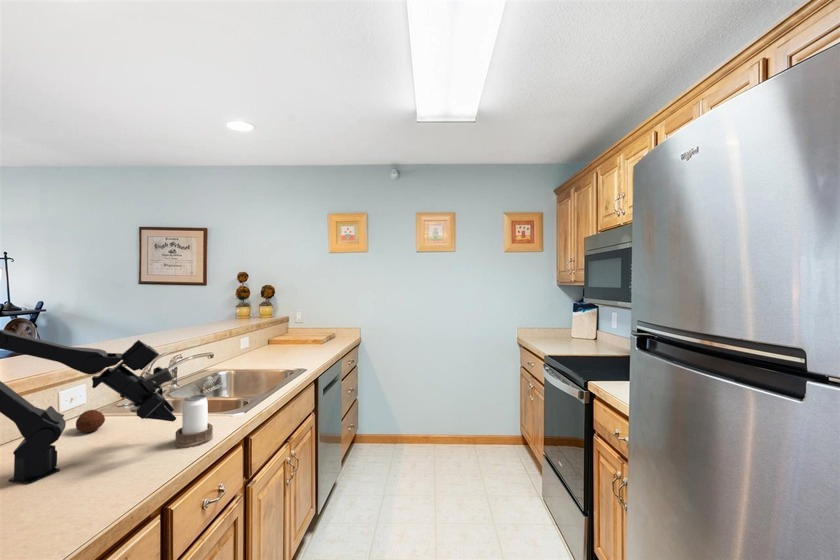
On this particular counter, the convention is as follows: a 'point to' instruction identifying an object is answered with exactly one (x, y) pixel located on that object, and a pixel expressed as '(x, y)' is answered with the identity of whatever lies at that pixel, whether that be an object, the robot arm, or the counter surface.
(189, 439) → the holder
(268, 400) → the counter surface
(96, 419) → the potato
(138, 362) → the robot arm
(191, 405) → the can
